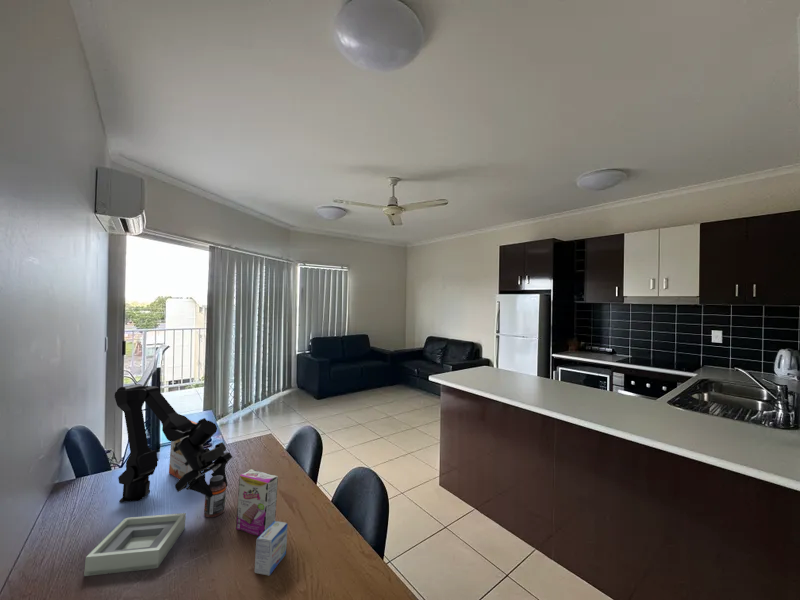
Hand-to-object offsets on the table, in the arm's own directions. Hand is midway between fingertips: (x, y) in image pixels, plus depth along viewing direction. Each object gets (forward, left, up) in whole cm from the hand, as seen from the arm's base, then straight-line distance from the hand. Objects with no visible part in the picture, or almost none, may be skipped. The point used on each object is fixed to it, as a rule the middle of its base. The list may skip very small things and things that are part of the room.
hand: (219, 491), depth 106 cm
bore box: (-15, -14, -7) cm, 22 cm away
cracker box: (-21, +29, -7) cm, 36 cm away
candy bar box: (+14, -10, -7) cm, 19 cm away
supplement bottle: (-1, +1, -7) cm, 7 cm away
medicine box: (+21, -25, -7) cm, 34 cm away
